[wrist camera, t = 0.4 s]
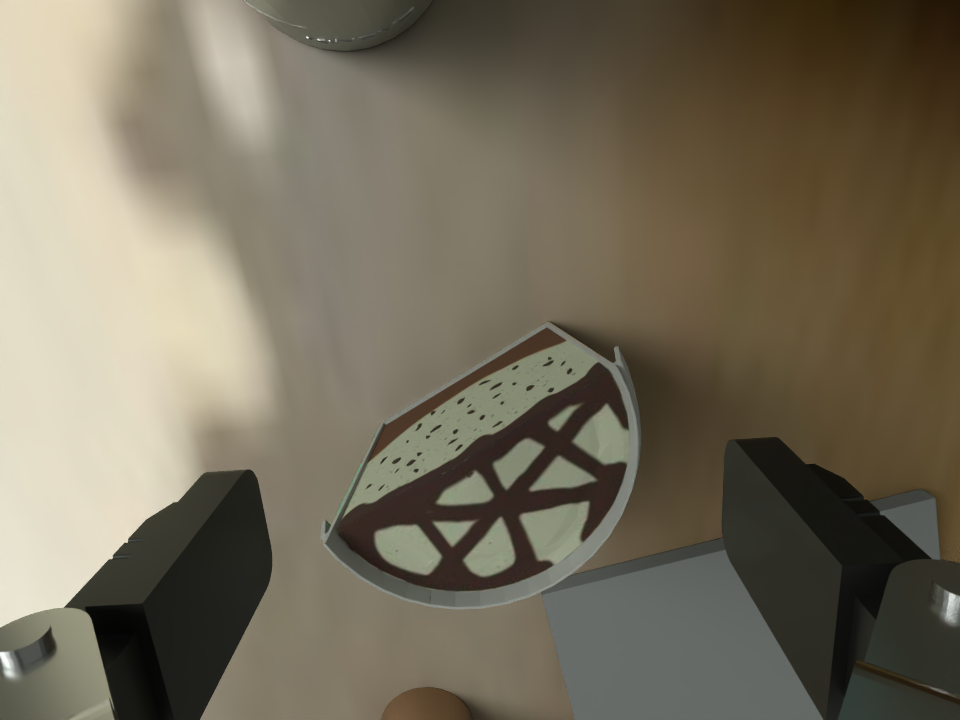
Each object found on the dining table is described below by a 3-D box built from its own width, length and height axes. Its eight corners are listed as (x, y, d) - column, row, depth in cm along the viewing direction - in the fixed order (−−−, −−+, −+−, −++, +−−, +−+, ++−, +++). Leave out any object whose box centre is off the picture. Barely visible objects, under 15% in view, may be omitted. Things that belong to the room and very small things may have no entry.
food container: (424, 535, 33) (411, 681, 23) (354, 439, 31) (309, 552, 22) (638, 410, 32) (719, 511, 22) (576, 304, 30) (633, 361, 20)
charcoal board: (539, 583, 34) (541, 594, 33) (921, 488, 33) (935, 497, 32) (608, 841, 38) (612, 858, 38) (944, 762, 38) (957, 777, 37)
